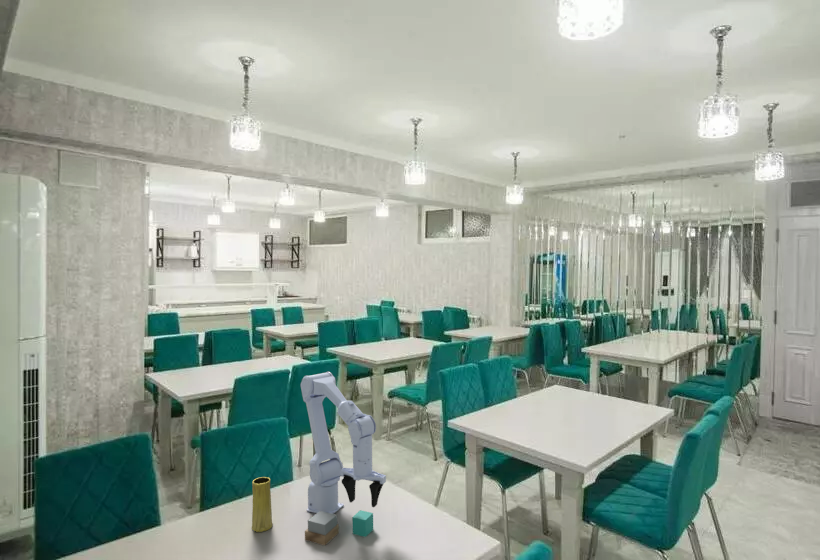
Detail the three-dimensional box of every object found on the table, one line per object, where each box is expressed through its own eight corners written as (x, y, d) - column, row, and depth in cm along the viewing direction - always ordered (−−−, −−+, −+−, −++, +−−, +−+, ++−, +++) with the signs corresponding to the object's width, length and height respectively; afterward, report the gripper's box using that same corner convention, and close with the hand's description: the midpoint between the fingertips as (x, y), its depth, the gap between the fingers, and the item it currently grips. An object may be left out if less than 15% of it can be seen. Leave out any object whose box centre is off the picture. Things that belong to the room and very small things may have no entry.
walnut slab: (304, 541, 135) (304, 530, 135) (319, 529, 141) (319, 519, 141) (325, 546, 132) (324, 536, 132) (338, 534, 138) (338, 524, 138)
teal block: (352, 534, 138) (352, 517, 138) (360, 526, 142) (360, 510, 142) (365, 537, 136) (365, 520, 136) (373, 529, 140) (373, 513, 140)
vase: (247, 527, 142) (247, 480, 142) (266, 519, 146) (265, 474, 146) (258, 534, 138) (257, 486, 138) (276, 526, 142) (275, 480, 142)
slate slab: (307, 530, 135) (307, 520, 135) (320, 520, 140) (320, 510, 140) (325, 535, 132) (324, 524, 132) (337, 524, 138) (336, 514, 138)
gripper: (334, 459, 138) (335, 504, 138) (377, 466, 132) (378, 514, 132) (347, 450, 144) (347, 494, 144) (388, 457, 138) (389, 503, 139)
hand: (363, 503), depth 139 cm, fingers open, 7 cm apart
